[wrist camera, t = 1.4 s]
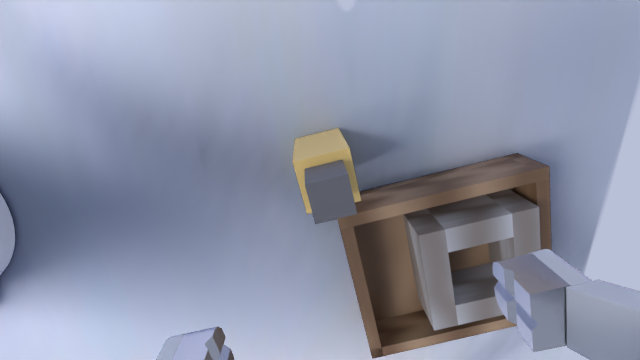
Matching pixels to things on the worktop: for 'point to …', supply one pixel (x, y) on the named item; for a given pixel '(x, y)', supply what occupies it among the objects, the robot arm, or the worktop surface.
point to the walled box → (443, 249)
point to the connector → (326, 175)
